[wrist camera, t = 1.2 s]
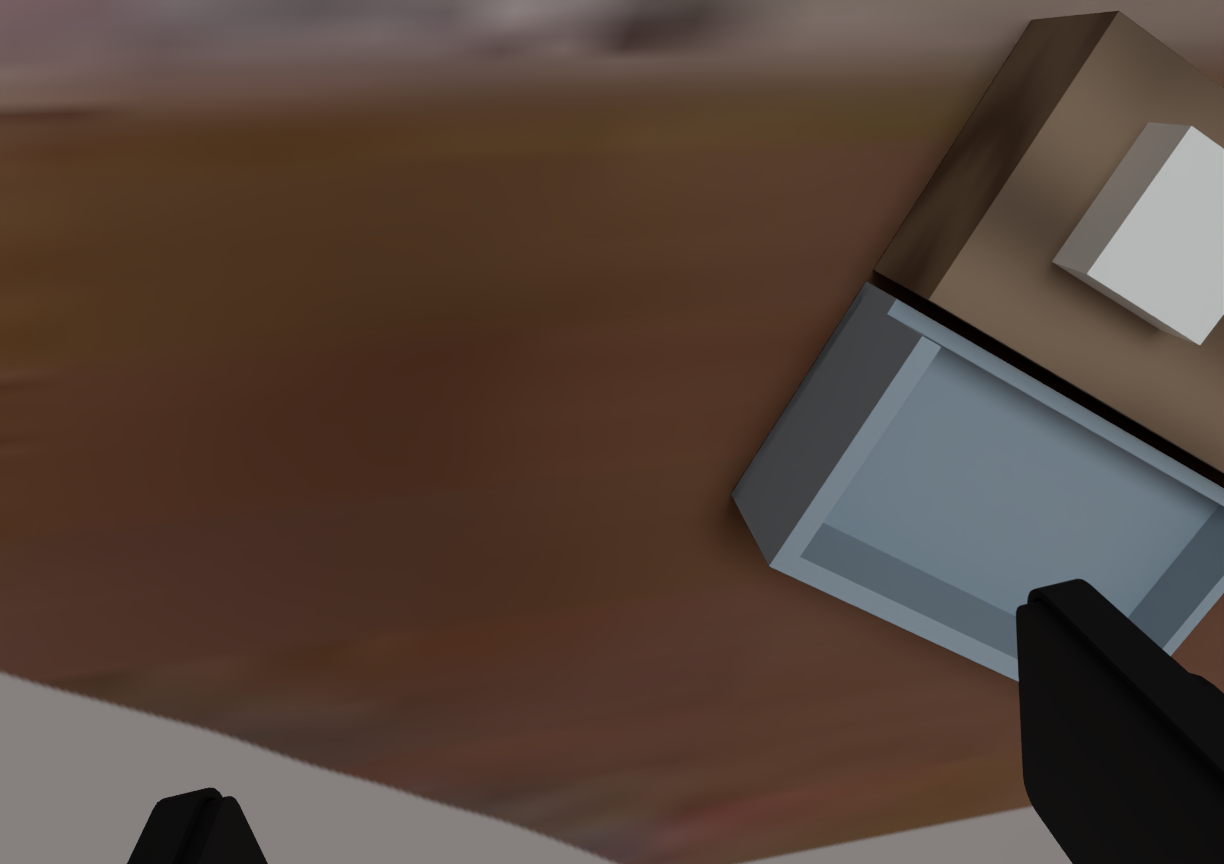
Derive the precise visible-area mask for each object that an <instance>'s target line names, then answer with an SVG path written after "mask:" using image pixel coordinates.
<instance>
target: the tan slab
mask: <svg viewBox="0 0 1224 864" xmlns="http://www.w3.org/2000/svg"><path fill="white" fill-rule="evenodd" d="M1148 122H1150V123H1163V124H1176V125H1189V126H1193V127H1194V128H1195V129H1197V130H1198V131H1200V132H1201V133H1202V134H1204V135H1205V136H1207V137H1208V138H1209V139H1211V140H1212V141H1214V142H1215V143H1216V144H1218V145H1219V146H1221V147H1222V148H1223V149H1224V88H1223V87H1221V86H1220V85H1219V84H1217V83H1216V82H1214V81H1213V80H1212V79H1210V78H1209V77H1208V76H1206V75H1205V74H1204V73H1202V72H1201V71H1200V70H1198V69H1197V68H1196V67H1194V66H1193V65H1192V64H1190V63H1189V62H1187V61H1186V60H1185V59H1183V58H1182V57H1181V56H1179V55H1178V54H1177V53H1175V52H1174V51H1173V50H1171V49H1170V48H1169V47H1167V46H1166V45H1165V44H1163V43H1162V42H1160V41H1159V40H1158V39H1156V38H1155V37H1154V36H1152V35H1151V34H1150V33H1148V32H1147V31H1146V30H1144V29H1143V28H1142V27H1140V26H1139V25H1138V24H1136V23H1135V22H1134V21H1132V20H1131V19H1129V18H1128V17H1127V16H1125V15H1124V14H1123V13H1121V12H1120V11H1113V12H1103V13H1094V14H1084V15H1074V16H1064V17H1054V18H1045V19H1035V20H1032V21H1031V23H1030V24H1029V26H1028V27H1027V29H1026V30H1025V32H1024V34H1023V35H1022V37H1021V38H1020V40H1019V41H1018V43H1017V45H1016V46H1015V48H1014V49H1013V51H1012V52H1011V54H1010V56H1009V57H1008V59H1007V60H1006V62H1005V63H1004V65H1003V67H1002V68H1001V70H1000V71H999V73H998V74H997V76H996V78H995V79H994V81H993V82H992V84H991V86H990V87H989V89H988V90H987V92H986V93H985V95H984V97H983V98H982V100H981V101H980V103H979V104H978V106H977V108H976V109H975V111H974V112H973V114H972V115H971V117H970V119H969V120H968V122H967V123H966V125H965V126H964V128H963V130H962V131H961V133H960V134H959V136H958V137H957V139H956V141H955V142H954V144H953V145H952V147H951V149H950V150H949V152H948V153H947V155H946V156H945V158H944V160H943V161H942V163H941V164H940V166H939V167H938V169H937V171H936V172H935V174H934V175H933V177H932V178H931V180H930V182H929V183H928V185H927V186H926V188H925V189H924V191H923V193H922V194H921V196H920V197H919V199H918V200H917V202H916V204H915V205H914V207H913V208H912V210H911V211H910V213H909V215H908V216H907V218H906V219H905V221H904V223H903V224H902V226H901V227H900V229H899V230H898V232H897V234H896V235H895V237H894V238H893V240H892V241H891V243H890V245H889V246H888V248H887V249H886V251H885V252H884V254H883V256H882V257H881V259H880V260H879V262H878V263H877V265H876V267H875V268H874V270H875V271H877V272H878V273H880V274H882V275H883V276H885V277H887V278H889V279H890V280H892V281H894V282H895V283H897V284H899V285H900V286H902V287H904V288H906V289H907V290H909V291H911V292H912V293H914V294H916V295H918V296H919V297H921V298H923V299H924V300H926V301H928V302H930V303H931V304H933V305H935V306H936V307H938V308H940V309H941V310H943V311H945V312H947V313H948V314H950V315H952V316H953V317H955V318H957V319H959V320H960V321H962V322H964V323H965V324H967V325H969V326H971V327H972V328H974V329H976V330H977V331H979V332H981V333H983V334H984V335H986V336H988V337H989V338H991V339H993V340H994V341H996V342H998V343H1000V344H1001V345H1003V346H1005V347H1006V348H1008V349H1010V350H1012V351H1013V352H1015V353H1017V354H1018V355H1020V356H1022V357H1024V358H1025V359H1027V360H1029V361H1030V362H1032V363H1034V364H1035V365H1037V366H1039V367H1041V368H1042V369H1044V370H1046V371H1047V372H1049V373H1051V374H1053V375H1054V376H1056V377H1058V378H1059V379H1061V380H1063V381H1065V382H1066V383H1068V384H1070V385H1071V386H1073V387H1075V388H1077V389H1078V390H1080V391H1082V392H1083V393H1085V394H1087V395H1088V396H1090V397H1092V398H1094V399H1095V400H1097V401H1099V402H1100V403H1102V404H1104V405H1106V406H1107V407H1109V408H1111V409H1112V410H1114V411H1116V412H1118V413H1119V414H1121V415H1123V416H1124V417H1126V418H1128V419H1129V420H1131V421H1133V422H1135V423H1136V424H1138V425H1140V426H1141V427H1143V428H1145V429H1147V430H1148V431H1150V432H1152V433H1153V434H1155V435H1157V436H1159V437H1160V438H1162V439H1164V440H1165V441H1167V442H1169V443H1170V444H1172V445H1174V446H1176V447H1177V448H1179V449H1181V450H1182V451H1184V452H1186V453H1188V454H1189V455H1191V456H1193V457H1194V458H1196V459H1198V460H1200V461H1201V462H1203V463H1205V464H1206V465H1208V466H1210V467H1212V468H1213V469H1215V470H1217V471H1218V472H1220V473H1222V474H1223V475H1224V315H1223V316H1222V317H1221V319H1220V320H1219V321H1218V322H1217V324H1216V325H1215V326H1214V328H1213V329H1212V330H1211V332H1210V333H1209V334H1208V336H1207V337H1206V338H1205V340H1204V341H1203V342H1202V343H1201V345H1197V344H1195V343H1192V342H1190V341H1187V340H1185V339H1182V338H1180V337H1177V336H1174V335H1172V334H1169V333H1167V332H1164V331H1162V330H1159V329H1158V328H1156V327H1155V326H1153V325H1151V324H1150V323H1148V322H1147V321H1145V320H1143V319H1142V318H1140V317H1139V316H1137V315H1136V314H1134V313H1132V312H1131V311H1129V310H1128V309H1126V308H1124V307H1123V306H1121V305H1120V304H1118V303H1116V302H1115V301H1113V300H1112V299H1110V298H1108V297H1107V296H1105V295H1104V294H1102V293H1100V292H1099V291H1097V290H1096V289H1094V288H1092V287H1091V286H1089V285H1088V284H1086V283H1085V282H1083V281H1081V280H1080V279H1078V278H1077V277H1075V276H1073V275H1072V274H1070V273H1069V272H1067V271H1065V270H1064V269H1062V268H1061V267H1059V266H1057V265H1056V264H1054V263H1053V262H1052V261H1053V259H1054V258H1055V256H1056V255H1057V253H1058V252H1059V251H1060V249H1061V248H1062V246H1063V245H1064V243H1065V242H1066V240H1067V239H1068V238H1069V236H1070V235H1071V233H1072V232H1073V230H1074V229H1075V227H1076V226H1077V225H1078V223H1079V222H1080V220H1081V219H1082V217H1083V216H1084V214H1085V213H1086V212H1087V210H1088V209H1089V207H1090V206H1091V204H1092V203H1093V201H1094V200H1095V199H1096V197H1097V196H1098V194H1099V193H1100V191H1101V190H1102V188H1103V187H1104V186H1105V184H1106V183H1107V181H1108V180H1109V178H1110V177H1111V175H1112V174H1113V173H1114V171H1115V170H1116V168H1117V167H1118V165H1119V164H1120V162H1121V161H1122V160H1123V158H1124V157H1125V155H1126V154H1127V152H1128V151H1129V149H1130V148H1131V147H1132V145H1133V144H1134V142H1135V141H1136V139H1137V138H1138V136H1139V135H1140V134H1141V132H1142V131H1143V129H1144V128H1145V126H1146V125H1147V123H1148Z"/></svg>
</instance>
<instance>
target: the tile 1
mask: <svg viewBox="0 0 1224 864" xmlns="http://www.w3.org/2000/svg"><path fill="white" fill-rule="evenodd" d="M1052 262H1053V263H1054V264H1056V265H1057V266H1059V267H1061V268H1062V269H1064V270H1065V271H1067V272H1069V273H1070V274H1072V275H1073V276H1075V277H1077V278H1078V279H1080V280H1081V281H1083V282H1085V283H1086V284H1088V285H1089V286H1091V287H1092V288H1094V289H1096V290H1097V291H1099V292H1100V293H1102V294H1104V295H1105V296H1107V297H1108V298H1110V299H1112V300H1113V301H1115V302H1116V303H1118V304H1120V305H1121V306H1123V307H1124V308H1126V309H1128V310H1129V311H1131V312H1132V313H1134V314H1136V315H1137V316H1139V317H1140V318H1142V319H1143V320H1145V321H1147V322H1148V323H1150V324H1151V325H1153V326H1155V327H1156V328H1158V329H1159V330H1162V331H1164V332H1167V333H1169V334H1172V335H1174V336H1177V337H1180V338H1182V339H1185V340H1187V341H1190V342H1192V343H1195V344H1197V345H1201V343H1202V342H1203V341H1204V340H1205V338H1206V337H1207V336H1208V334H1209V333H1210V332H1211V330H1212V329H1213V328H1214V326H1215V325H1216V324H1217V322H1218V321H1219V320H1220V319H1221V317H1222V316H1223V315H1224V149H1223V148H1222V147H1221V146H1219V145H1218V144H1216V143H1215V142H1214V141H1212V140H1211V139H1209V138H1208V137H1207V136H1205V135H1204V134H1202V133H1201V132H1200V131H1198V130H1197V129H1195V128H1194V127H1193V126H1189V125H1176V124H1163V123H1150V122H1148V123H1147V125H1146V126H1145V128H1144V129H1143V131H1142V132H1141V134H1140V135H1139V136H1138V138H1137V139H1136V141H1135V142H1134V144H1133V145H1132V147H1131V148H1130V149H1129V151H1128V152H1127V154H1126V155H1125V157H1124V158H1123V160H1122V161H1121V162H1120V164H1119V165H1118V167H1117V168H1116V170H1115V171H1114V173H1113V174H1112V175H1111V177H1110V178H1109V180H1108V181H1107V183H1106V184H1105V186H1104V187H1103V188H1102V190H1101V191H1100V193H1099V194H1098V196H1097V197H1096V199H1095V200H1094V201H1093V203H1092V204H1091V206H1090V207H1089V209H1088V210H1087V212H1086V213H1085V214H1084V216H1083V217H1082V219H1081V220H1080V222H1079V223H1078V225H1077V226H1076V227H1075V229H1074V230H1073V232H1072V233H1071V235H1070V236H1069V238H1068V239H1067V240H1066V242H1065V243H1064V245H1063V246H1062V248H1061V249H1060V251H1059V252H1058V253H1057V255H1056V256H1055V258H1054V259H1053V261H1052Z"/></svg>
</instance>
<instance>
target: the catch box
mask: <svg viewBox="0 0 1224 864" xmlns="http://www.w3.org/2000/svg"><path fill="white" fill-rule="evenodd" d="M731 495H732V497H733V499H734V501H735V503H736V505H737V507H738V508H739V510H740V512H741V514H742V516H743V518H744V520H745V522H746V524H747V525H748V527H749V529H750V531H751V533H752V535H753V537H754V539H755V541H756V542H757V544H758V546H759V548H760V550H761V552H762V554H763V556H764V558H765V559H766V561H767V563H768V565H769V566H770V567H772V568H774V569H776V570H778V571H780V572H783V573H785V574H787V575H789V576H791V577H793V578H796V579H798V580H800V581H802V582H804V583H806V584H809V585H811V586H813V587H815V588H817V589H819V590H821V591H824V592H826V593H828V594H830V595H832V596H834V597H837V598H839V599H841V600H843V601H845V602H847V603H850V604H852V605H854V606H856V607H858V608H860V609H863V610H865V611H867V612H869V613H871V614H873V615H875V616H878V617H880V618H882V619H884V620H886V621H888V622H891V623H893V624H895V625H897V626H899V627H901V628H904V629H906V630H908V631H910V632H912V633H914V634H916V635H919V636H921V637H923V638H925V639H927V640H929V641H932V642H934V643H936V644H938V645H940V646H942V647H945V648H947V649H949V650H951V651H953V652H955V653H958V654H960V655H962V656H964V657H966V658H968V659H970V660H973V661H975V662H977V663H979V664H981V665H983V666H986V667H988V668H990V669H992V670H994V671H996V672H999V673H1001V674H1003V675H1005V676H1007V677H1009V678H1012V679H1014V680H1016V681H1018V682H1019V678H1018V656H1017V635H1016V610H1017V607H1019V606H1020V605H1024V604H1027V598H1028V595H1029V592H1030V591H1031V590H1033V589H1036V588H1040V587H1044V586H1048V585H1052V584H1057V583H1061V582H1065V581H1069V580H1073V579H1077V578H1078V579H1083V580H1085V581H1086V582H1088V583H1089V584H1091V585H1092V586H1093V587H1094V588H1095V589H1096V590H1097V591H1098V592H1099V593H1101V594H1102V595H1103V596H1104V597H1105V598H1106V599H1107V600H1108V601H1110V602H1111V603H1112V604H1113V605H1114V606H1115V607H1116V608H1117V609H1118V610H1120V611H1121V612H1122V613H1123V614H1124V615H1125V616H1126V617H1127V618H1128V619H1130V620H1131V621H1132V622H1133V623H1134V624H1135V625H1136V626H1137V627H1138V628H1140V629H1141V630H1142V631H1143V632H1144V633H1145V634H1146V635H1147V636H1148V637H1150V638H1151V639H1152V640H1153V641H1154V642H1155V643H1156V644H1157V645H1158V646H1160V647H1161V648H1162V649H1163V650H1164V651H1165V652H1166V653H1167V654H1168V655H1170V656H1171V655H1172V654H1173V653H1174V651H1175V650H1176V649H1177V648H1178V647H1179V645H1180V644H1181V643H1182V642H1183V641H1184V639H1185V638H1186V637H1187V636H1188V635H1189V634H1190V632H1191V631H1192V630H1193V629H1194V628H1195V626H1196V625H1197V624H1198V623H1199V622H1200V620H1201V619H1202V618H1203V617H1204V616H1205V615H1206V613H1207V612H1208V611H1209V610H1210V609H1211V607H1212V606H1213V605H1214V604H1215V603H1216V601H1217V600H1218V599H1219V598H1220V597H1221V595H1222V594H1223V593H1224V488H1222V487H1220V486H1219V485H1217V484H1215V483H1213V482H1212V481H1210V480H1208V479H1207V478H1205V477H1203V476H1201V475H1200V474H1198V473H1196V472H1195V471H1193V470H1191V469H1189V468H1188V467H1186V466H1184V465H1182V464H1181V463H1179V462H1177V461H1176V460H1174V459H1172V458H1170V457H1169V456H1167V455H1165V454H1163V453H1162V452H1160V451H1158V450H1157V449H1155V448H1153V447H1151V446H1150V445H1148V444H1146V443H1144V442H1143V441H1141V440H1139V439H1138V438H1136V437H1134V436H1132V435H1131V434H1129V433H1127V432H1125V431H1124V430H1122V429H1120V428H1119V427H1117V426H1115V425H1113V424H1112V423H1110V422H1108V421H1107V420H1105V419H1103V418H1101V417H1100V416H1098V415H1096V414H1094V413H1093V412H1091V411H1089V410H1088V409H1086V408H1084V407H1082V406H1081V405H1079V404H1077V403H1075V402H1074V401H1072V400H1070V399H1069V398H1067V397H1065V396H1063V395H1062V394H1060V393H1058V392H1056V391H1055V390H1053V389H1051V388H1050V387H1048V386H1046V385H1044V384H1043V383H1041V382H1039V381H1037V380H1036V379H1034V378H1032V377H1031V376H1029V375H1027V374H1025V373H1024V372H1022V371H1020V370H1019V369H1017V368H1015V367H1013V366H1012V365H1010V364H1008V363H1006V362H1005V361H1003V360H1001V359H1000V358H998V357H996V356H994V355H993V354H991V353H989V352H987V351H986V350H984V349H982V348H981V347H979V346H977V345H975V344H974V343H972V342H970V341H968V340H967V339H965V338H963V337H962V336H960V335H958V334H956V333H955V332H953V331H951V330H950V329H948V328H946V327H944V326H943V325H941V324H939V323H937V322H936V321H934V320H932V319H931V318H929V317H927V316H925V315H924V314H922V313H920V312H918V311H917V310H915V309H913V308H912V307H910V306H908V305H906V304H905V303H903V302H901V301H899V300H898V299H896V298H894V297H893V296H891V295H889V294H887V293H886V292H884V291H882V290H880V289H879V288H877V287H875V286H874V285H872V284H870V283H868V282H867V281H866V282H865V284H864V286H863V287H862V289H861V290H860V292H859V293H858V295H857V297H856V298H855V300H854V301H853V303H852V304H851V306H850V308H849V309H848V311H847V312H846V314H845V315H844V317H843V319H842V320H841V322H840V323H839V325H838V326H837V328H836V330H835V331H834V333H833V334H832V336H831V337H830V339H829V341H828V342H827V344H826V345H825V347H824V348H823V350H822V352H821V353H820V355H819V356H818V358H817V360H816V361H815V363H814V364H813V366H812V367H811V369H810V371H809V372H808V374H807V375H806V377H805V378H804V380H803V382H802V383H801V385H800V386H799V388H798V389H797V391H796V393H795V394H794V396H793V397H792V399H791V400H790V402H789V404H788V405H787V407H786V408H785V410H784V411H783V413H782V415H781V416H780V418H779V419H778V421H777V423H776V424H775V426H774V427H773V429H772V430H771V432H770V434H769V435H768V437H767V438H766V440H765V441H764V443H763V445H762V446H761V448H760V449H759V451H758V452H757V454H756V456H755V457H754V459H753V460H752V462H751V463H750V465H749V467H748V468H747V470H746V471H745V473H744V474H743V476H742V478H741V479H740V481H739V482H738V484H737V485H736V487H735V489H734V490H733V492H732V493H731Z"/></svg>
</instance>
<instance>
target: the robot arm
mask: <svg viewBox="0 0 1224 864" xmlns="http://www.w3.org/2000/svg"><path fill="white" fill-rule="evenodd" d="M1016 635H1017V656H1018V678H1019V699H1020V721H1021V742H1022V764H1023V779H1024V785H1025V788H1026V792H1027V794H1028V797H1029V799H1030V801H1031V803H1032V806H1033V807H1034V809H1035V811H1036V812H1037V814H1038V815H1039V816H1040V818H1041V819H1042V821H1043V822H1044V823H1045V825H1046V826H1047V828H1048V829H1049V831H1050V832H1051V834H1052V835H1053V836H1054V838H1055V839H1056V841H1057V842H1058V843H1059V845H1060V846H1061V848H1062V849H1063V851H1064V852H1065V853H1066V855H1067V856H1068V858H1069V859H1070V861H1071V862H1072V863H1073V864H1224V693H1222V692H1221V691H1220V690H1219V689H1218V688H1217V687H1216V686H1214V685H1213V684H1212V683H1210V682H1209V681H1207V680H1206V679H1205V678H1203V677H1202V676H1198V675H1195V674H1192V673H1189V672H1187V671H1186V670H1185V669H1184V668H1183V667H1182V666H1181V665H1180V664H1178V663H1177V662H1176V661H1175V660H1174V659H1173V658H1172V657H1171V656H1170V655H1168V654H1167V653H1166V652H1165V651H1164V650H1163V649H1162V648H1161V647H1160V646H1158V645H1157V644H1156V643H1155V642H1154V641H1153V640H1152V639H1151V638H1150V637H1148V636H1147V635H1146V634H1145V633H1144V632H1143V631H1142V630H1141V629H1140V628H1138V627H1137V626H1136V625H1135V624H1134V623H1133V622H1132V621H1131V620H1130V619H1128V618H1127V617H1126V616H1125V615H1124V614H1123V613H1122V612H1121V611H1120V610H1118V609H1117V608H1116V607H1115V606H1114V605H1113V604H1112V603H1111V602H1110V601H1108V600H1107V599H1106V598H1105V597H1104V596H1103V595H1102V594H1101V593H1099V592H1098V591H1097V590H1096V589H1095V588H1094V587H1093V586H1092V585H1091V584H1089V583H1088V582H1086V581H1085V580H1083V579H1078V578H1077V579H1073V580H1069V581H1065V582H1061V583H1057V584H1052V585H1048V586H1044V587H1040V588H1036V589H1033V590H1031V591H1030V592H1029V595H1028V598H1027V604H1024V605H1020V606H1019V607H1017V610H1016ZM127 864H268V863H267V861H266V859H265V857H264V855H263V853H262V851H261V849H260V847H259V845H258V843H257V841H256V838H255V836H254V834H253V832H252V830H251V828H250V826H249V824H248V822H247V820H246V818H245V816H244V814H243V812H242V809H241V807H240V805H239V804H238V802H237V800H236V799H235V798H233V797H232V796H227V797H222V795H221V794H220V792H218V791H217V790H216V789H215V788H205V789H201V790H197V791H193V792H188V793H184V794H180V795H176V796H172V797H168V798H164V799H162V800H160V801H159V802H158V803H157V804H156V806H155V807H154V809H153V810H152V813H151V815H150V817H149V819H148V821H147V823H146V825H145V827H144V829H143V831H142V834H141V836H140V838H139V840H138V842H137V844H136V846H135V848H134V850H133V852H132V854H131V857H130V859H129V861H128V863H127Z"/></svg>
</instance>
